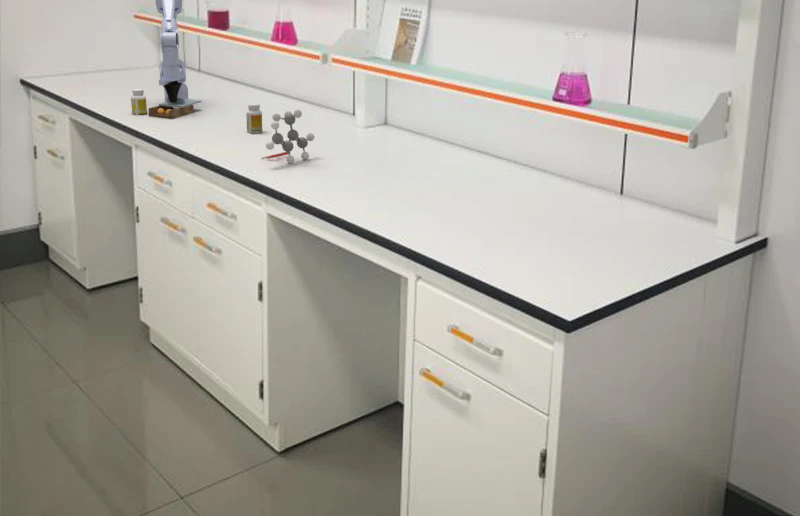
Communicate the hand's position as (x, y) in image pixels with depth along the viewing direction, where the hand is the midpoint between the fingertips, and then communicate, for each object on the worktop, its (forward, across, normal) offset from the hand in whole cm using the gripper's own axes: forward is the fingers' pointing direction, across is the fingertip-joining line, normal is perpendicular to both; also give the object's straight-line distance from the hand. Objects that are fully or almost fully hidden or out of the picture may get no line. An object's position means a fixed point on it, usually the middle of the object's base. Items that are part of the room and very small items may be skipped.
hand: (173, 102), depth 335 cm
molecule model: (+6, +45, +65) cm, 79 cm away
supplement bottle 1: (+5, +5, -11) cm, 14 cm away
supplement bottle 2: (+5, +12, +39) cm, 41 cm away
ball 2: (+4, +5, +2) cm, 7 cm away
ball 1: (+4, +5, -2) cm, 7 cm away
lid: (+1, -5, 0) cm, 5 cm away
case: (+5, +2, 0) cm, 5 cm away
